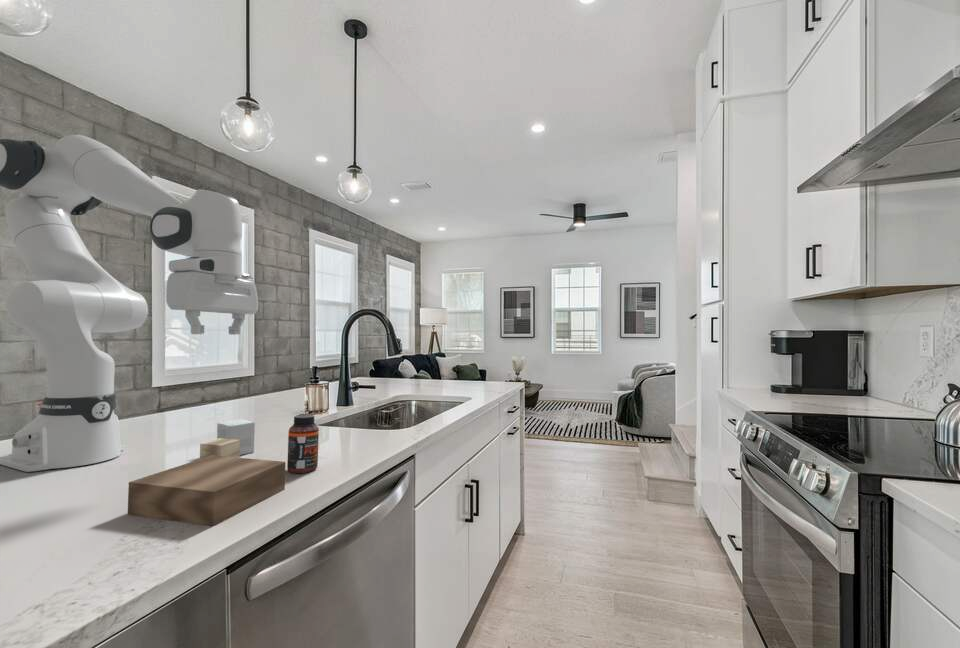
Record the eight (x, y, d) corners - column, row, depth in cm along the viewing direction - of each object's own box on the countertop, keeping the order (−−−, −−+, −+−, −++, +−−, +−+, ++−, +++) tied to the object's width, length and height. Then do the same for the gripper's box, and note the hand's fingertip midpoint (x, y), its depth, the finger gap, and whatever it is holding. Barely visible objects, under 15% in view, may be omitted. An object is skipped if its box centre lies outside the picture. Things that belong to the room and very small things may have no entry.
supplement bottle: (307, 475, 88) (308, 419, 89) (280, 473, 90) (282, 417, 90) (323, 466, 94) (324, 413, 95) (298, 464, 95) (299, 412, 96)
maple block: (199, 473, 89) (200, 443, 89) (219, 466, 94) (220, 438, 94) (219, 475, 88) (220, 445, 88) (238, 468, 93) (239, 439, 93)
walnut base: (127, 514, 68) (128, 482, 68) (211, 481, 84) (212, 455, 84) (213, 526, 65) (214, 491, 65) (284, 489, 80) (285, 461, 80)
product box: (254, 452, 105) (255, 421, 105) (227, 458, 100) (228, 426, 100) (242, 448, 108) (243, 418, 108) (215, 453, 103) (216, 422, 103)
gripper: (242, 275, 102) (241, 334, 102) (160, 260, 82) (159, 334, 82) (265, 274, 101) (265, 334, 100) (187, 259, 81) (187, 333, 80)
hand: (216, 334), depth 91 cm, fingers open, 8 cm apart
